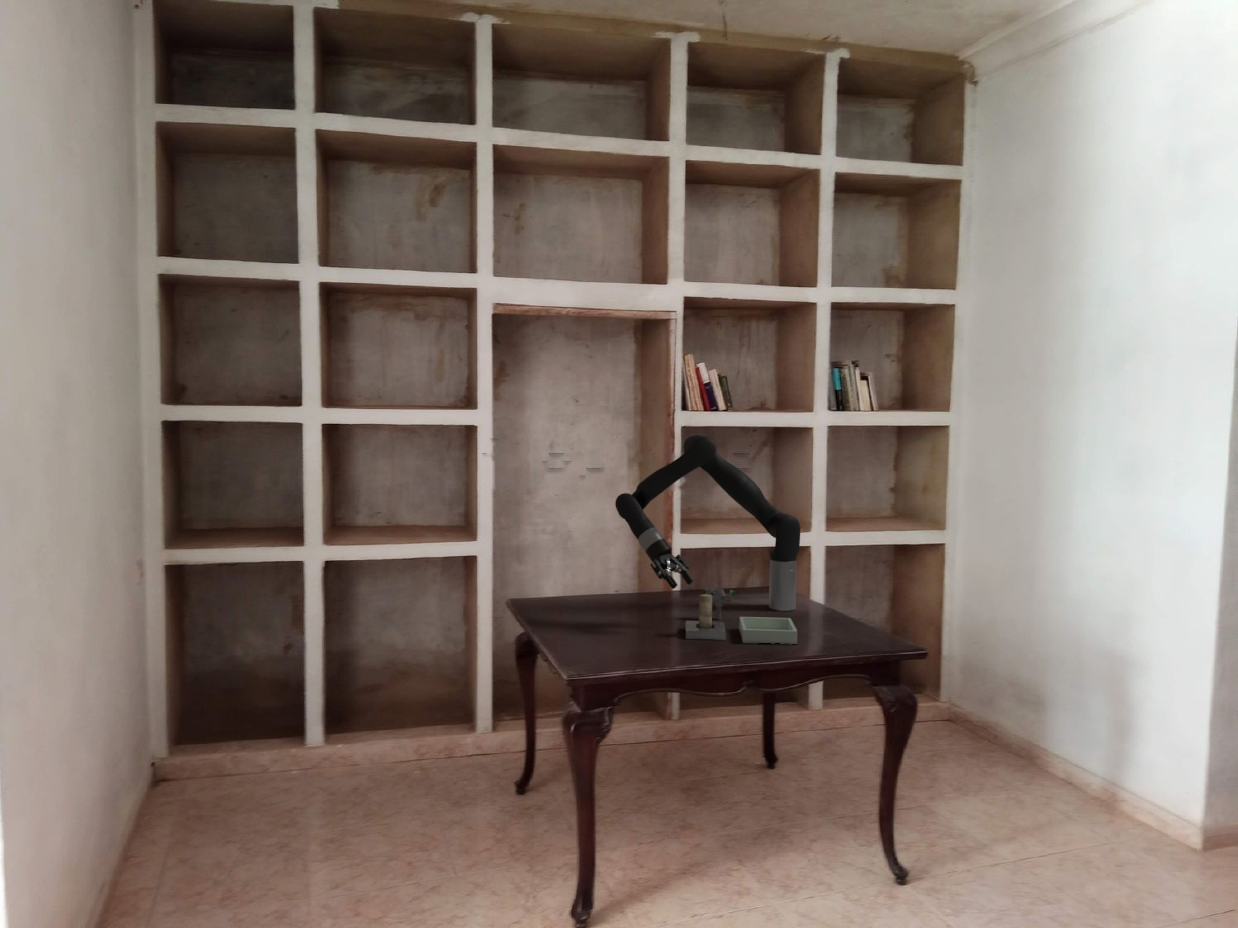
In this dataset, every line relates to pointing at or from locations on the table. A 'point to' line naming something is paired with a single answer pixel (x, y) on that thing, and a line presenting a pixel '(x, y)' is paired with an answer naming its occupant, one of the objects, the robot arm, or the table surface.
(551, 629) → the table surface
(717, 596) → the mechanical component
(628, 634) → the table surface
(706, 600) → the dowel
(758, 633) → the tray
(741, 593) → the table surface
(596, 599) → the table surface
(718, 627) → the socket block
